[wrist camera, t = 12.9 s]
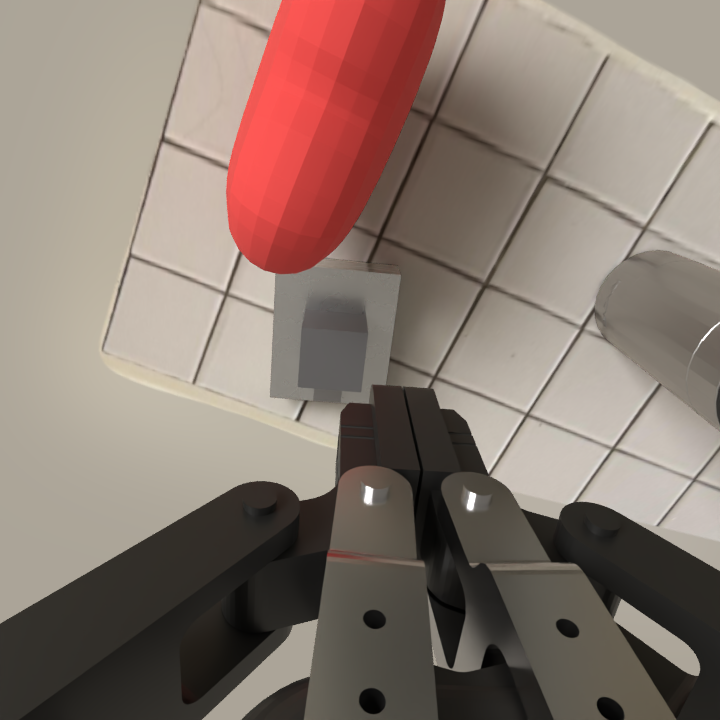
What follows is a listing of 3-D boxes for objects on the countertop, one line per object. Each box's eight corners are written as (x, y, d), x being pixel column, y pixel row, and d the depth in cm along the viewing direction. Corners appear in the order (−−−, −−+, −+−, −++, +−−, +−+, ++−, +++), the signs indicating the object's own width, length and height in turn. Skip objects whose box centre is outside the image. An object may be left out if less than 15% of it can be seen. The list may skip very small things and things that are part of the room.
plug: (364, 303, 47) (368, 333, 41) (358, 355, 49) (361, 392, 43) (307, 298, 47) (301, 327, 40) (303, 350, 49) (297, 387, 42)
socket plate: (397, 265, 46) (402, 277, 43) (380, 390, 51) (383, 410, 47) (280, 253, 46) (275, 264, 42) (274, 381, 50) (268, 401, 47)
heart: (333, 251, 46) (327, 327, 29) (236, 208, 44) (168, 262, 27) (444, -4, 39) (525, -106, 21) (333, -66, 37) (325, -230, 20)
